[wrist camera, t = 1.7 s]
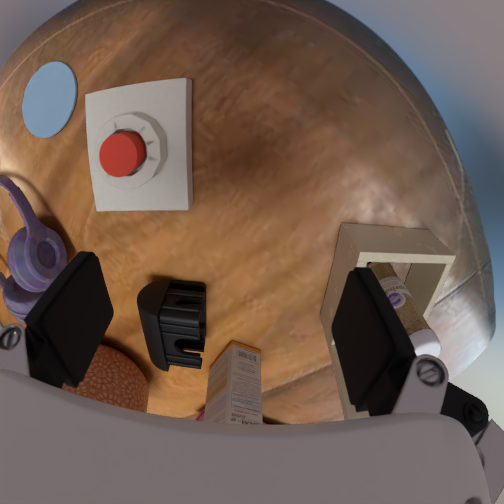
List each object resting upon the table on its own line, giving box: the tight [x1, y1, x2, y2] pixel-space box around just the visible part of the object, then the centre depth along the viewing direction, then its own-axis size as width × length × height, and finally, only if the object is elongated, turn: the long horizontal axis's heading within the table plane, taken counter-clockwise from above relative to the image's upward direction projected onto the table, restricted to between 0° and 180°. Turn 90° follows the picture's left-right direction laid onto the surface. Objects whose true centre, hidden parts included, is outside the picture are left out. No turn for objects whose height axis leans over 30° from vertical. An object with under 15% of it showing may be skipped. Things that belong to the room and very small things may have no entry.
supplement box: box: [204, 341, 263, 425], centre depth 33 cm, size 8×5×13 cm, turn 151°
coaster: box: [22, 62, 78, 138], centre depth 19 cm, size 9×9×1 cm
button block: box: [85, 78, 193, 211], centre depth 21 cm, size 12×10×4 cm
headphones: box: [0, 175, 67, 324], centre depth 25 cm, size 18×8×20 cm
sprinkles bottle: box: [366, 262, 441, 357], centre depth 25 cm, size 5×5×13 cm
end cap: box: [137, 280, 206, 372], centre depth 30 cm, size 10×7×7 cm
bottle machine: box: [320, 223, 456, 420], centre depth 24 cm, size 13×12×16 cm
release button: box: [99, 131, 145, 177], centre depth 19 cm, size 4×4×2 cm
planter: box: [62, 344, 148, 413], centre depth 34 cm, size 17×17×15 cm
